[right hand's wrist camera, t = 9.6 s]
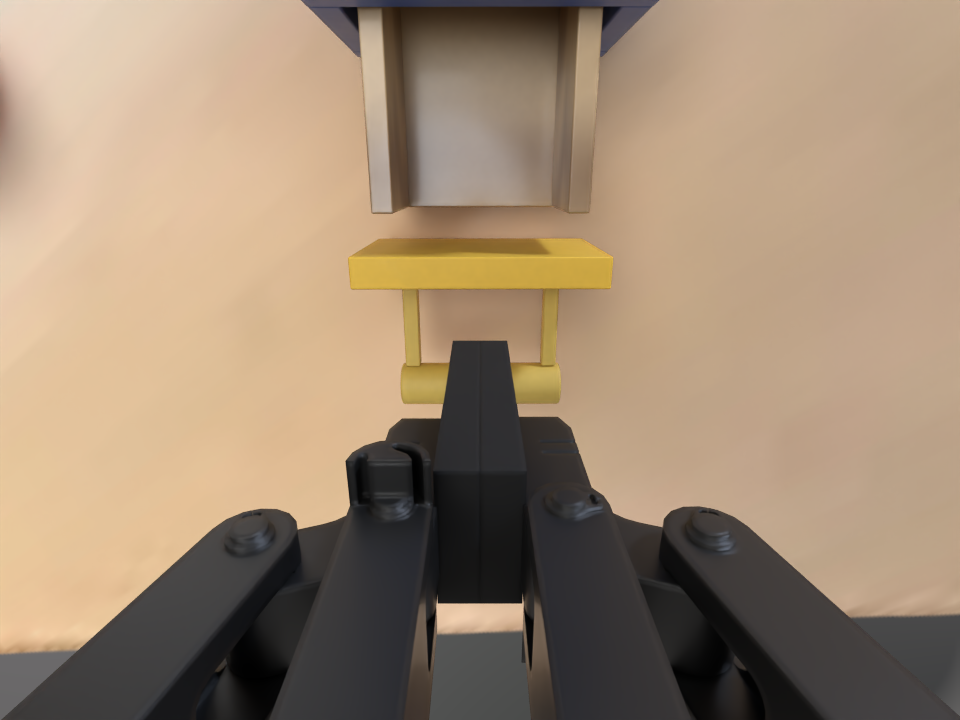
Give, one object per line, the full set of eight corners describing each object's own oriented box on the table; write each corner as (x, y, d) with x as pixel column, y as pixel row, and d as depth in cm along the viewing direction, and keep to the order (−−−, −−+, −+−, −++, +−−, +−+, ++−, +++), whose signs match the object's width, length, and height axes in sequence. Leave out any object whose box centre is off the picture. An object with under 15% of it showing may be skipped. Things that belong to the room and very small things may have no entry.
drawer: (574, 370, 27) (600, 422, 21) (386, 370, 27) (361, 423, 21) (615, -286, 19) (676, -495, 13) (344, -286, 19) (282, -495, 13)
